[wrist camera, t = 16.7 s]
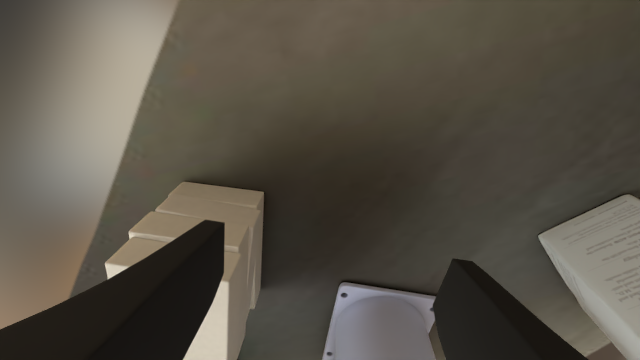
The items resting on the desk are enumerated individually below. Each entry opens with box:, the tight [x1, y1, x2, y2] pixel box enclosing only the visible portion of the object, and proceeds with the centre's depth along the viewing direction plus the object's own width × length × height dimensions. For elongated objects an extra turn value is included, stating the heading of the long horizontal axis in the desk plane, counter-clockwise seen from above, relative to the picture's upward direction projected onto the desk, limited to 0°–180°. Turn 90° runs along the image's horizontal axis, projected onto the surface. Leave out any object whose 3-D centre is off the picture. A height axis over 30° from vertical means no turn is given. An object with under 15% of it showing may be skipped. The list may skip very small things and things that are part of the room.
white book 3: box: [155, 194, 261, 320], centre depth 20 cm, size 9×6×2 cm, turn 170°
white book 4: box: [128, 211, 249, 359], centre depth 18 cm, size 9×6×2 cm, turn 173°
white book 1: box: [105, 237, 242, 360], centre depth 16 cm, size 9×6×2 cm, turn 172°
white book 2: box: [168, 182, 264, 309], centre depth 21 cm, size 9×6×2 cm, turn 174°
